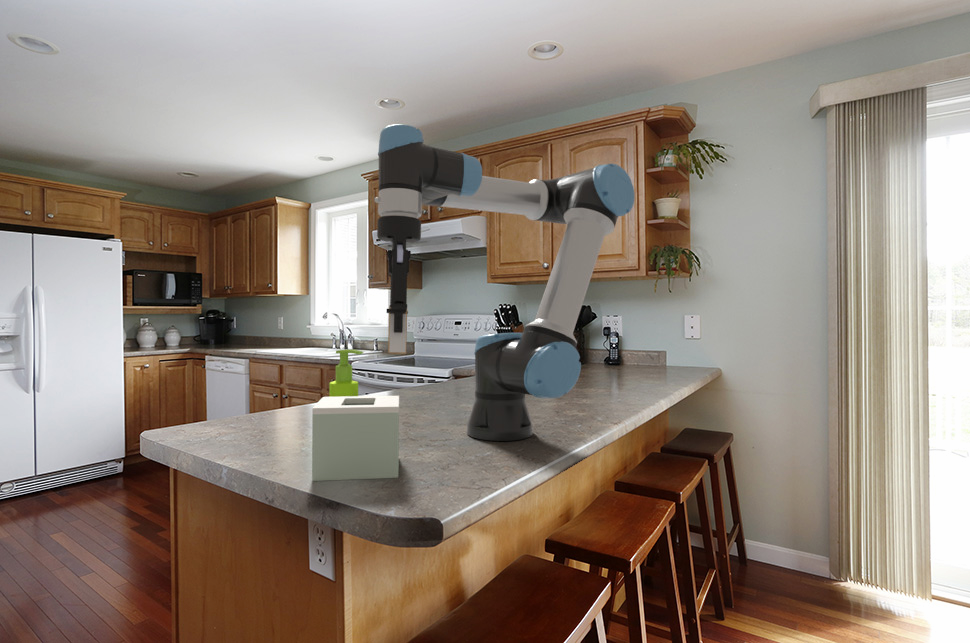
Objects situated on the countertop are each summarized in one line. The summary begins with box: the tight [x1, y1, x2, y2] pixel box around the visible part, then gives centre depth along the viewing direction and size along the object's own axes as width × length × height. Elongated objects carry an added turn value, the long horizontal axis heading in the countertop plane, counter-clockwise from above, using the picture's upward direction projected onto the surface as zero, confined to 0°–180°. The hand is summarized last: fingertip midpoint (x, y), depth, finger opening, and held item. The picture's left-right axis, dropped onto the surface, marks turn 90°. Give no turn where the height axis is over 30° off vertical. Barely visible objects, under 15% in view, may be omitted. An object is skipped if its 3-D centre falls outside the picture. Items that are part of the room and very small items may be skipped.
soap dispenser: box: [328, 348, 364, 397], centre depth 111 cm, size 6×7×20 cm
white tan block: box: [387, 306, 408, 355], centre depth 92 cm, size 5×3×8 cm, turn 11°
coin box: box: [311, 395, 400, 482], centre depth 94 cm, size 14×12×12 cm
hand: (396, 350), depth 92 cm, fingers closed on white tan block, 5 cm apart
